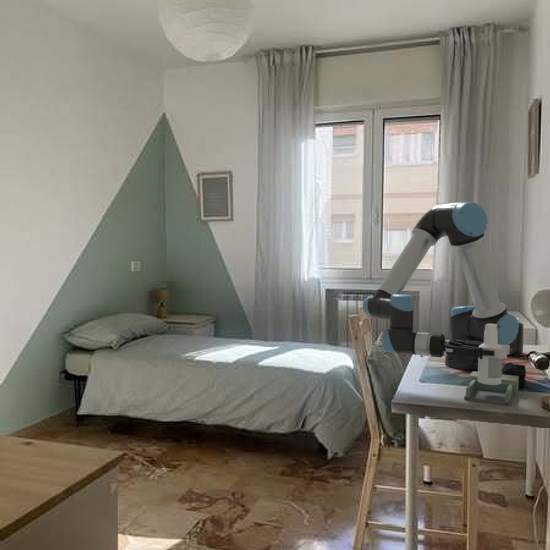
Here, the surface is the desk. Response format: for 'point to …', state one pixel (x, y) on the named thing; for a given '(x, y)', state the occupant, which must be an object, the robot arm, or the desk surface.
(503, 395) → the chute bracket
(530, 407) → the desk surface
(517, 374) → the end cap
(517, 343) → the jar
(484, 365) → the spray bottle
